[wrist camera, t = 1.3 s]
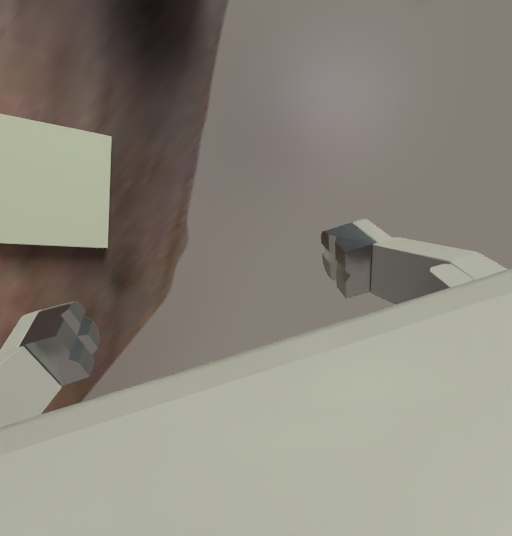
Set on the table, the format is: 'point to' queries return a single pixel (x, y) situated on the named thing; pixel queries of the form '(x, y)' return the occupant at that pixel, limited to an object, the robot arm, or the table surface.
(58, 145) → the pale green tile
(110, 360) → the table surface
